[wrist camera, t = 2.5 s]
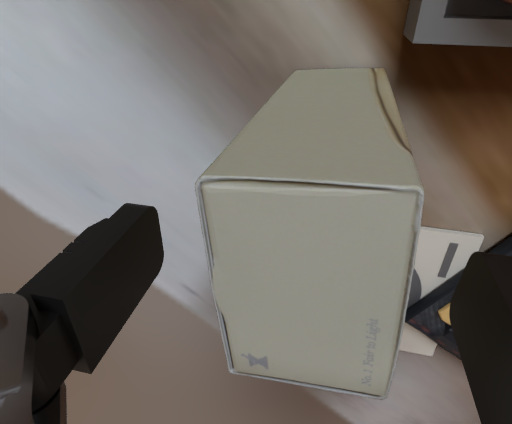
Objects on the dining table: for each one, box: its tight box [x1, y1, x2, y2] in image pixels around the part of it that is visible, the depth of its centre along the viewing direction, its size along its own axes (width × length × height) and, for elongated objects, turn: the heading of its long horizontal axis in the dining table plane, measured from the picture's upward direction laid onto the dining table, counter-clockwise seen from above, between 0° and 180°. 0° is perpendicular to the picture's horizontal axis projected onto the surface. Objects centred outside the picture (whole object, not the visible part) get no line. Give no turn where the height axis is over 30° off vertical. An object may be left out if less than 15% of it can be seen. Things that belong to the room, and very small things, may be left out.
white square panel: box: [399, 226, 484, 356], centre depth 22 cm, size 11×10×1 cm
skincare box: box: [195, 68, 424, 400], centre depth 13 cm, size 6×4×12 cm
